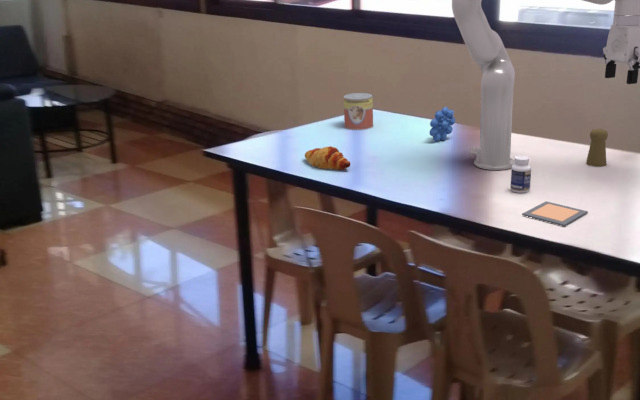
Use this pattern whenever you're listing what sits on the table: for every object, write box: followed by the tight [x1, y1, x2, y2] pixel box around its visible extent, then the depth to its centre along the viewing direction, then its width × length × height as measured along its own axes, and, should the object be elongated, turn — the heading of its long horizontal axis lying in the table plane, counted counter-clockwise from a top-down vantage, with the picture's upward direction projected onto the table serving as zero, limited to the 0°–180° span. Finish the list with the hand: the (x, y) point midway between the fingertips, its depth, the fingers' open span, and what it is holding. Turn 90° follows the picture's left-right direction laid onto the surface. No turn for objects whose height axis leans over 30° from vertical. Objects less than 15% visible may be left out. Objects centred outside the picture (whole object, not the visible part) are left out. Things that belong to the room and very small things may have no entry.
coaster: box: [521, 200, 589, 227], centre depth 193 cm, size 12×12×1 cm
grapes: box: [429, 106, 456, 142], centre depth 262 cm, size 12×7×12 cm, turn 124°
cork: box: [585, 128, 609, 168], centre depth 230 cm, size 6×6×11 cm
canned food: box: [342, 92, 374, 131], centre depth 286 cm, size 11×11×12 cm
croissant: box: [304, 145, 351, 171], centre depth 241 cm, size 21×10×8 cm, turn 43°
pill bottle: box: [509, 155, 532, 194], centre depth 210 cm, size 5×5×10 cm
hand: (620, 80), depth 216 cm, fingers open, 9 cm apart
